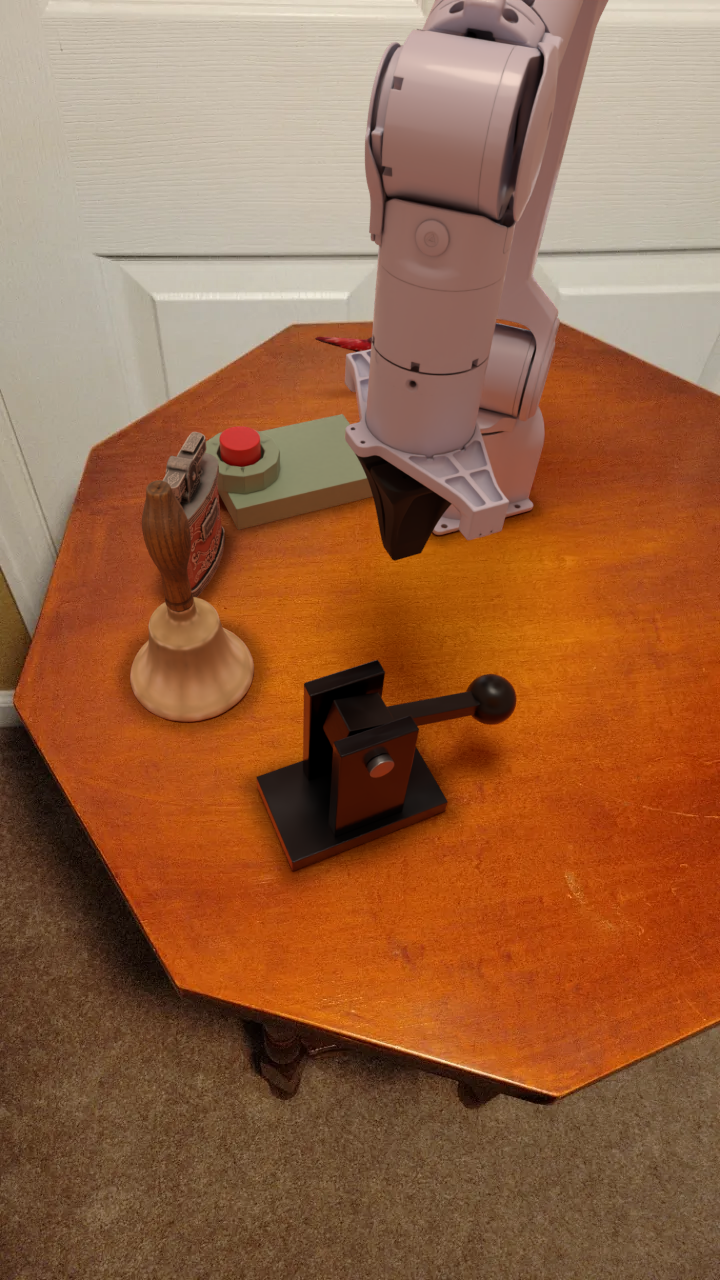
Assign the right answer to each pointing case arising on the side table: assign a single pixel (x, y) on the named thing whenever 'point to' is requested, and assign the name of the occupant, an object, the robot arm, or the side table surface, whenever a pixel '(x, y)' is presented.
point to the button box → (292, 473)
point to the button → (240, 446)
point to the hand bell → (184, 629)
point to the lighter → (198, 507)
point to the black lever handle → (423, 708)
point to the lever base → (348, 777)
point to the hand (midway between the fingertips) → (402, 549)
